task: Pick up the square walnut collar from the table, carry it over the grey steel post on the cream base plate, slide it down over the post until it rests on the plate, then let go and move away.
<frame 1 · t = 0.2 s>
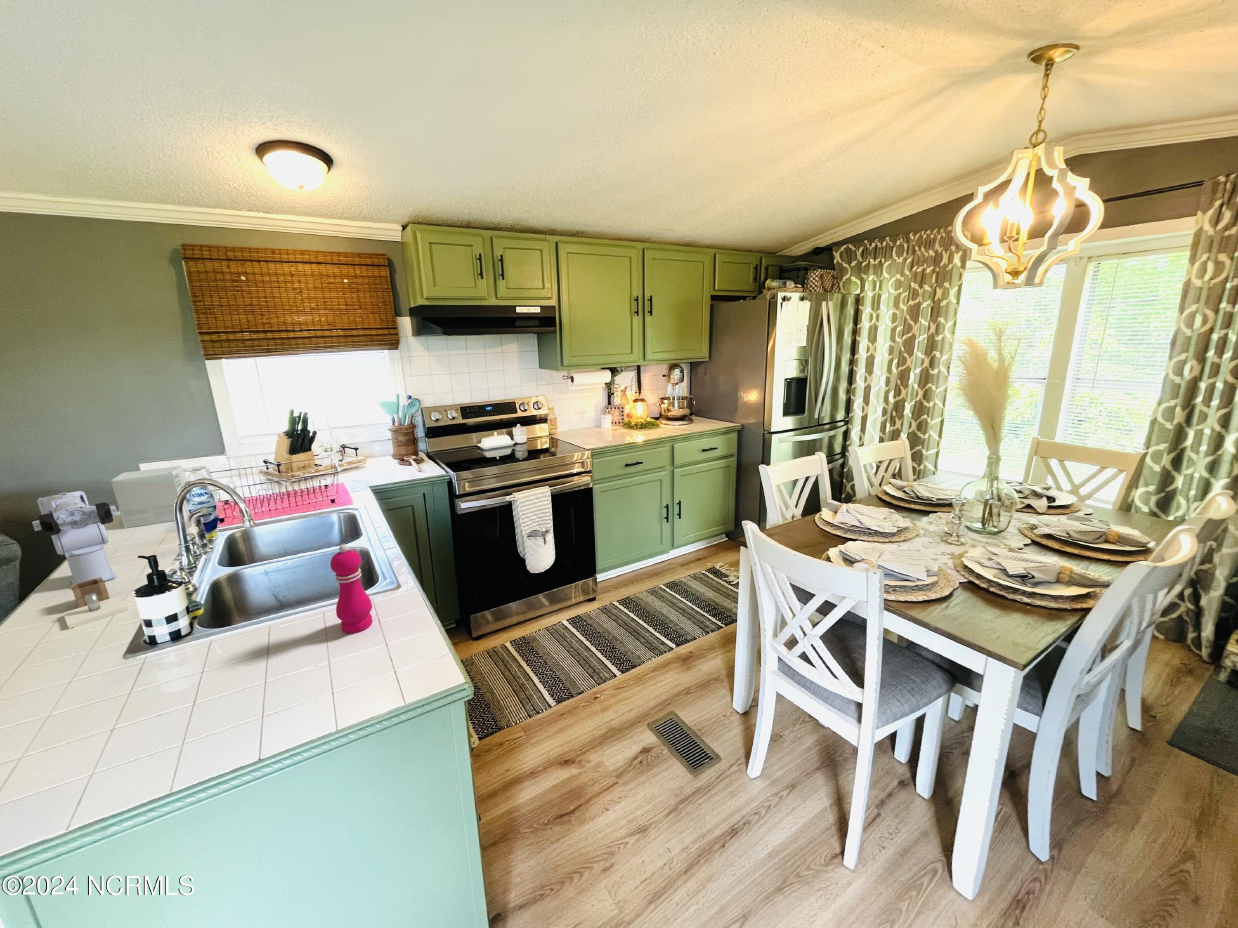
hand: (80, 523, 121), 21 cm above the worktop, tool horizontal, fingers open, 7 cm apart
supplement box: (160, 519, 185), on the worktop
base plate: (96, 613, 121), on the worktop
walnut collar: (93, 601, 127), on the worktop
pepper mill: (357, 626, 113), on the worktop
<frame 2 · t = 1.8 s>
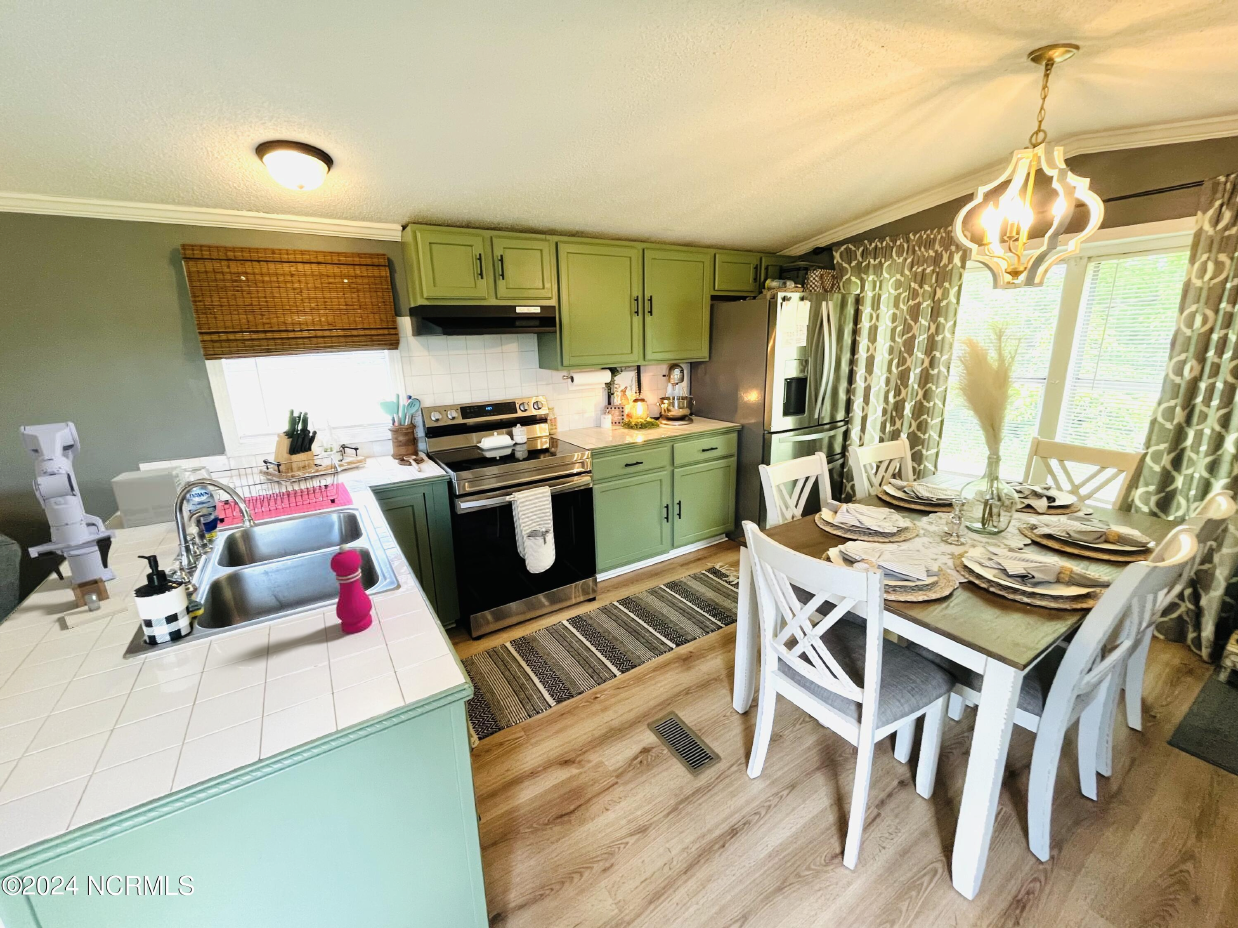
hand: (84, 573, 124), 8 cm above the worktop, tool pointing down, fingers open, 7 cm apart
nothing on the worktop moved.
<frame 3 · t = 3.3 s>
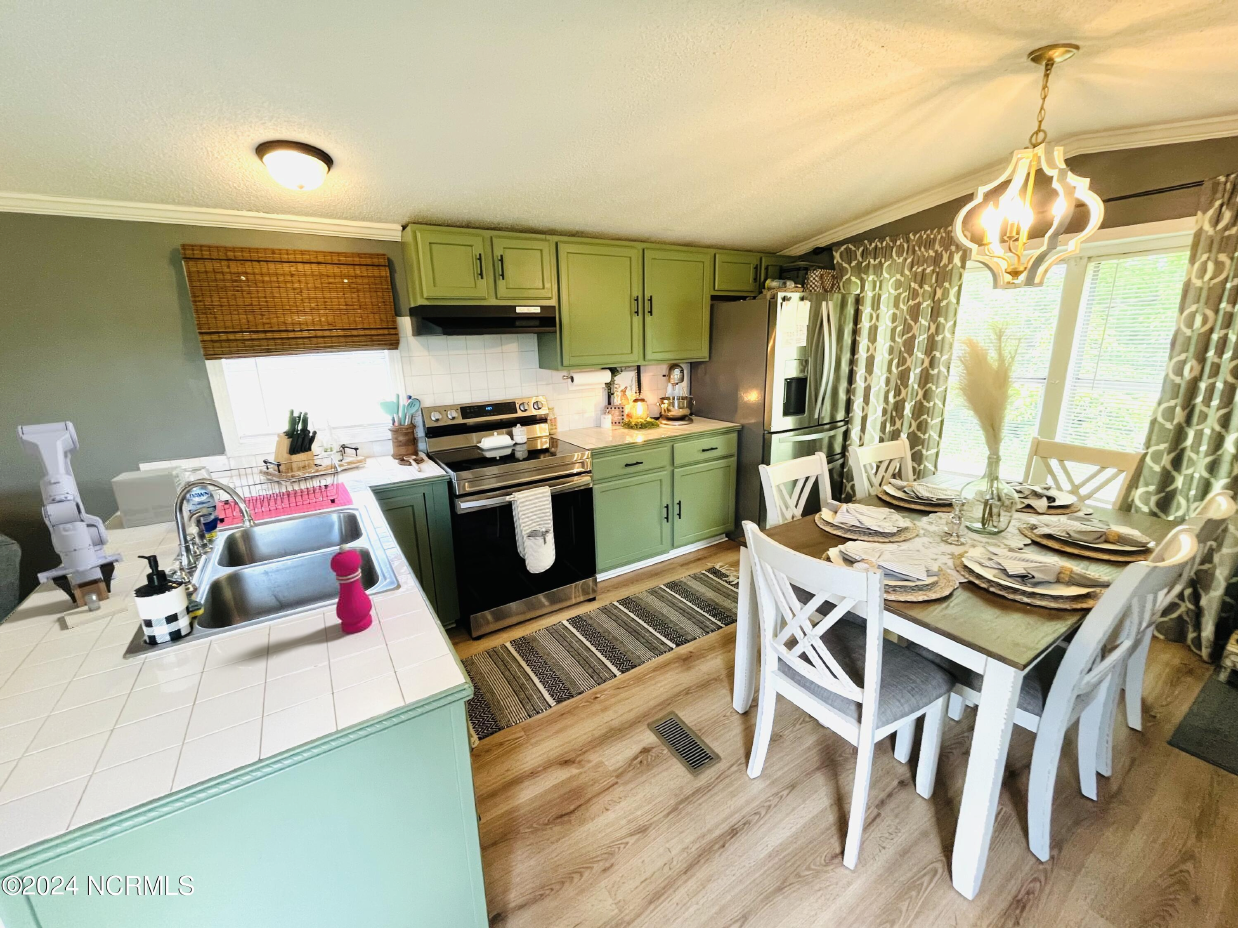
hand: (92, 596, 126), 1 cm above the worktop, tool pointing down, fingers closed on walnut collar, 5 cm apart
walnut collar: (93, 601, 127), on the worktop, touching gripper
everything else where it was.
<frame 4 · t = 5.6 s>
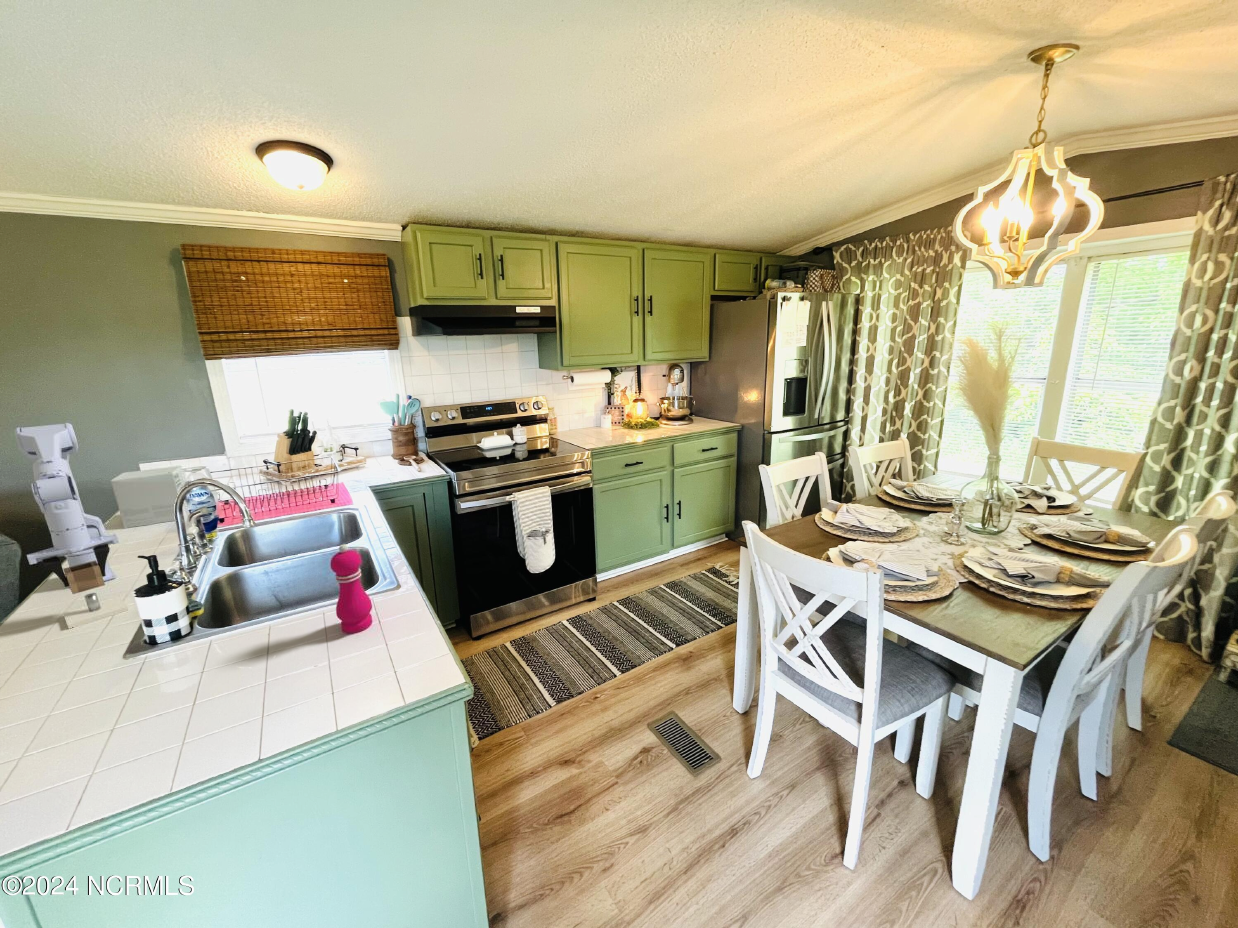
hand: (85, 580, 119), 9 cm above the worktop, tool pointing down, fingers closed on walnut collar, 5 cm apart
walnut collar: (87, 586, 119), point 7 cm above the worktop, touching gripper
everything else where it was.
when the fingers open (3 cm above the worktop, at t = 8.3 s): walnut collar stays where it is, resting on base plate.
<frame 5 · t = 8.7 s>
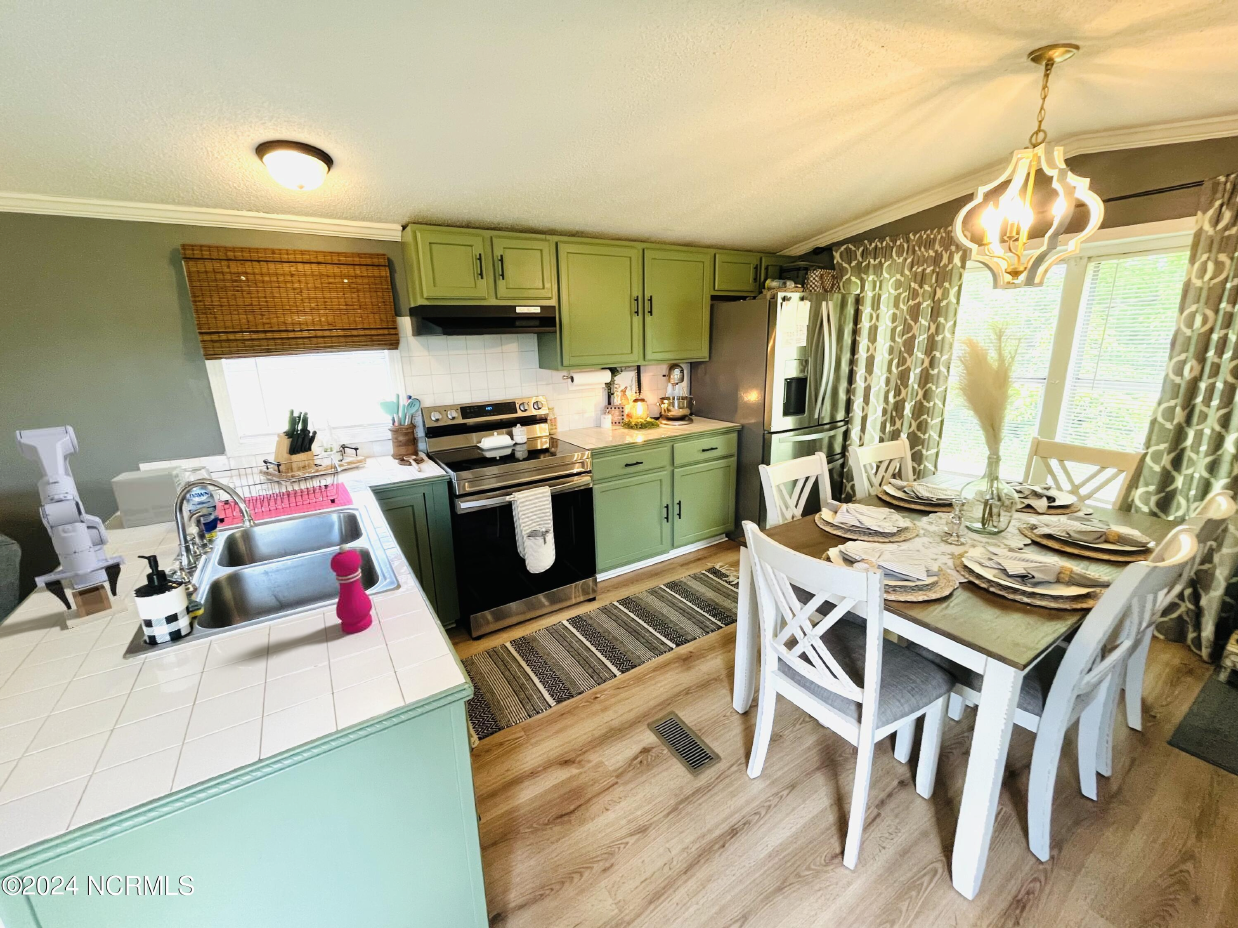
hand: (92, 601, 120), 3 cm above the worktop, tool pointing down, fingers open, 7 cm apart
walnut collar: (95, 609, 121), point 1 cm above the worktop, touching base plate
everything else where it was.
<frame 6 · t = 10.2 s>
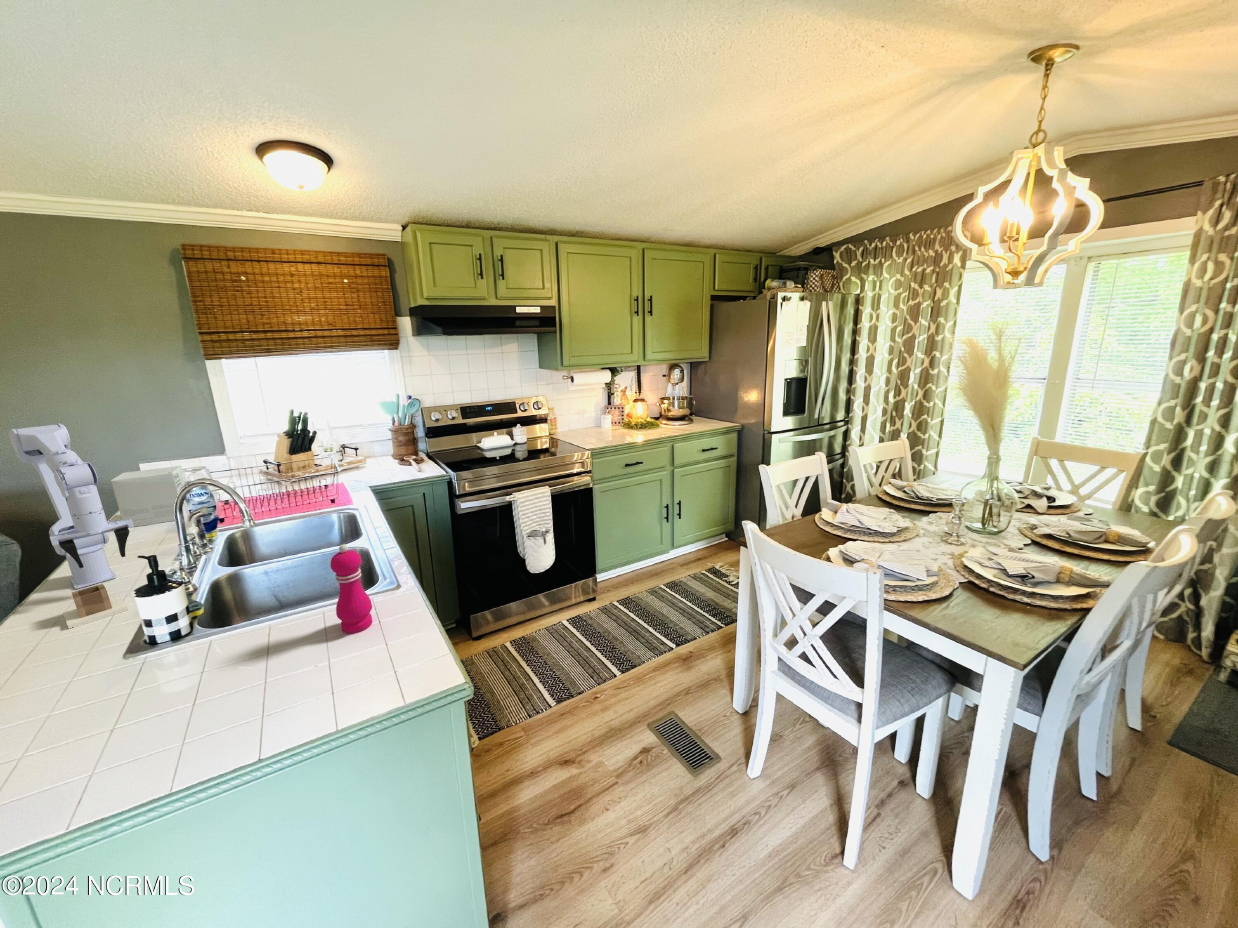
hand: (102, 561, 128), 9 cm above the worktop, tool pointing down, fingers open, 7 cm apart
nothing on the worktop moved.
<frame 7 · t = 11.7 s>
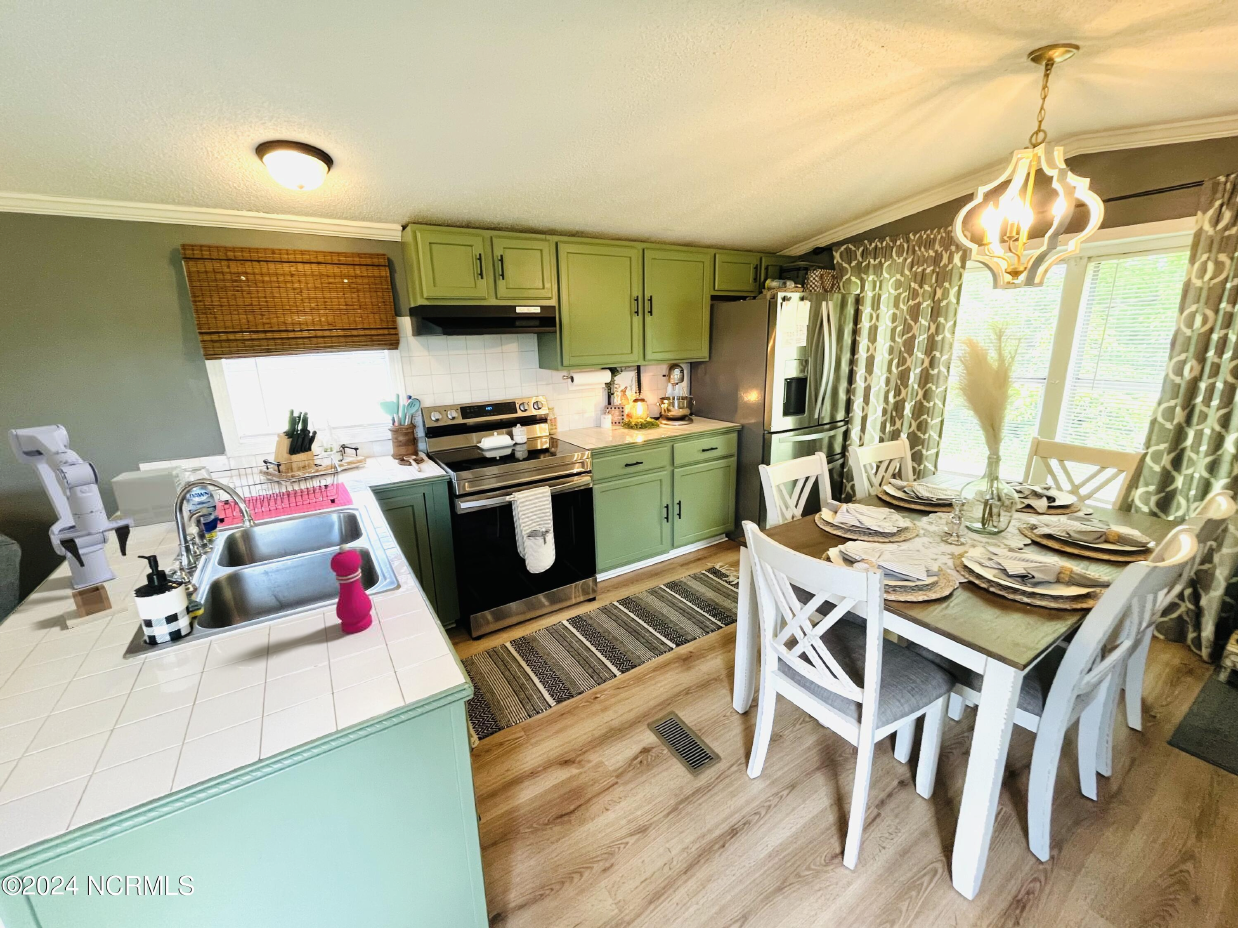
hand: (103, 560, 128), 9 cm above the worktop, tool pointing down, fingers open, 7 cm apart
nothing on the worktop moved.
at the end: walnut collar 0.0 cm off-centre on the base plate, point 1.0 cm above the base plate's base; walnut collar tilted 0°; the gripper is holding nothing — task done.
